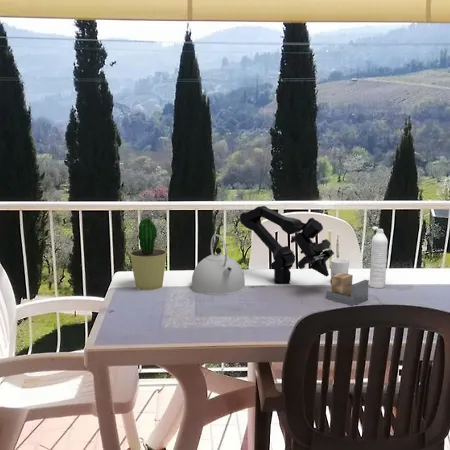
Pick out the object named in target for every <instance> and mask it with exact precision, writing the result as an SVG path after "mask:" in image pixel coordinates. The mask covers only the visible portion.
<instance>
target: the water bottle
mask: <svg viewBox="0 0 450 450" xmlns="http://www.w3.org/2000/svg"><path fill="white" fill-rule="evenodd" d="M371 229H372V230H376V233H375V234H374V236H372V239H371V253H370V269H369V270H370V271H369V287H371V288H374V289H383V288H385V287H386V278H387V277H386V275H387V274H386V273H387V272H386V271H387V261H388V259H387V256H388V244H389V243H388V242H389V241H388V238H387V236H386V235H385V233H384V229H383V228H379V226H372V228H371Z"/></svg>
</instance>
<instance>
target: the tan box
mask: <svg viewBox="0 0 450 450" xmlns="http://www.w3.org/2000/svg"><path fill="white" fill-rule="evenodd" d="M330 285H331V290H330V291H332V292H336V293H340V294H343V295H347V296H349V295H351V285H353V274H351V273H350V274H349V273H348V274H346V273H339V274H334V275H333V276H332V278H331V277H330Z"/></svg>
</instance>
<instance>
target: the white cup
mask: <svg viewBox="0 0 450 450" xmlns="http://www.w3.org/2000/svg"><path fill="white" fill-rule="evenodd" d="M349 266H350V260H349V259H347V258H342V257H341V258H339V257H335V258H331V259H330V279H331V278H332V276H333V275H334V274H339V273H346V274H349Z"/></svg>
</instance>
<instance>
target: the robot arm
mask: <svg viewBox="0 0 450 450" xmlns="http://www.w3.org/2000/svg"><path fill="white" fill-rule="evenodd" d="M239 217H240V218H239V223H240V224H241V225H242V226H244V227H245V228H246V229H248V230H251V231H252V232H253V233H254V234H255V235H256V236H257V238H259V239H260V241H261V242H262V243H263V244H264V245H265V246H266V247H267V248H268V250H269V251H270V252H271V253H272V257H273V262H272V263H271V264H270V268H271V270H273V279H272V280H273V282H274V284H275V285H277V284H278V285H279V284H282V285H283V284H285V285H288V284H290V283H291V274H292V273H291V271H290V268H293V264H295V262H296V261H295V260H296V255H295V253H294V251H293V250H292V249H291V248H290V247H289V246H288V245H285V246H282V245H281V244H280V243H279V242H278V241H277V239H276V238H274V236H273V235H272V234H271V233H270V232H269V230H268V229H267V228H266V227H265V226H264V225H263V224H262V219H261V218H264V219H265V220H267V221H269V222H271V223H273V224H275V225H277V226H279V227H280V228H281V230H282V231H283V232H285V233H286V234H288V235H292V236H291V238H290V243H291V244H293V243H296V244H297V246H298V247H299V248H300V254H303V255H304V256H303V257H302V258H301V259H300V260H299V261H298V262H297V267H298V268H299V270H303V269H305V268H306V265H308V264H309V267H308V268H309V269H312V270H314V271H316V272H318V273H319V274H321V275H322V276H324V277H329V275H330V273H329V270H328V266H327V263H326V262H327V261H328V260H329V259H330V258H331V257H333V255H334V254H335V253H334V251H333V249H330V247H331V242H330V241H329V239H327V238H326V239H321V242H319V243H317V242H316V241H314V242H313V241H312V239H315V238H316V237H317V236H318V235H319V234H320V233H321V232H322V231H323V230H324V226H323V224H322V223H321V222H320V221H318V220H317V219H315V218H314V217H309V218H308V220H307V222H303V221H302V220H301V219H300V218H299V219H298V218H294V217H290V216H289V217H288V216H285V215H283V214H280V213H279V212H277V211H275V210H273V209H270V208H268V207H267V206H265V205H261V206H257V207H255V208H254V209H251V210H248V211H246V212H245V211H244V212H242V213H241V214H240V216H239ZM294 234H295V235H294Z"/></svg>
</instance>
